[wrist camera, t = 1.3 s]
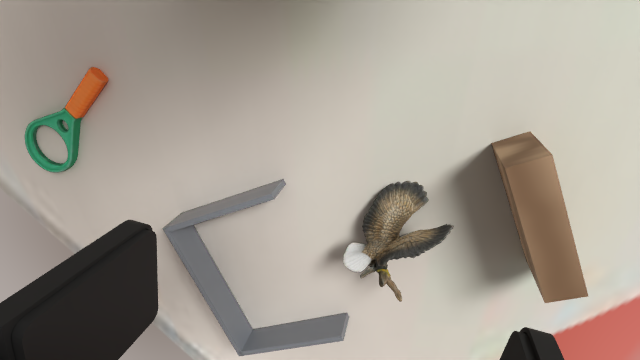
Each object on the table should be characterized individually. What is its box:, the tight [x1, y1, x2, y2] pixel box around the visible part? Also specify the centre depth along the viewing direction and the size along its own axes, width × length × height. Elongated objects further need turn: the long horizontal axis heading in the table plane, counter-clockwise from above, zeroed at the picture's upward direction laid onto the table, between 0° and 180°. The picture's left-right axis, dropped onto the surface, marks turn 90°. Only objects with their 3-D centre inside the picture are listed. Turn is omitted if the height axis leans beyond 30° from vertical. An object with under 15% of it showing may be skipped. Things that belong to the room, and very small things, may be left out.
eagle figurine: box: [343, 181, 454, 302], centre depth 35 cm, size 8×7×9 cm
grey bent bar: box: [163, 179, 349, 356], centre depth 41 cm, size 13×18×4 cm
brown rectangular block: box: [491, 132, 588, 303], centre depth 31 cm, size 3×12×6 cm, turn 24°
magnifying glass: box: [25, 67, 108, 172], centre depth 41 cm, size 15×6×2 cm, turn 133°
